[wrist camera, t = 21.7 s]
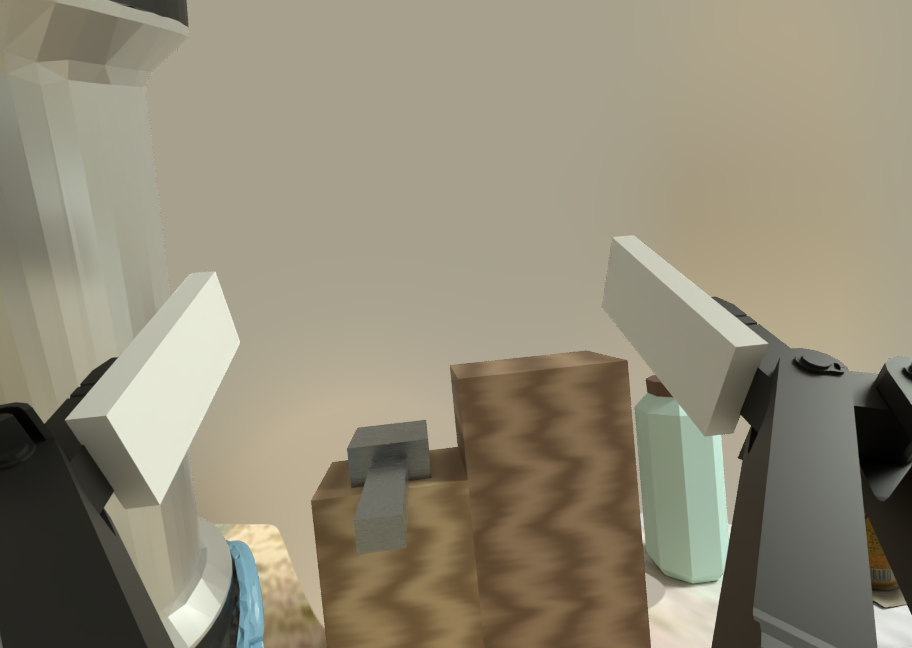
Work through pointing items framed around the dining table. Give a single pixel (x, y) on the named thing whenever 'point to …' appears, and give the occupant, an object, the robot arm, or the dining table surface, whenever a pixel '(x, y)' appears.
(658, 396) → the water bottle
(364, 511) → the grey t-shaped block
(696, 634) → the dining table surface
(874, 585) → the condiment
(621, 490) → the stepped stand
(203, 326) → the robot arm
